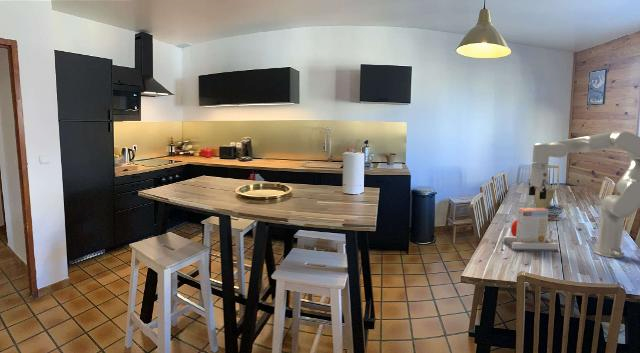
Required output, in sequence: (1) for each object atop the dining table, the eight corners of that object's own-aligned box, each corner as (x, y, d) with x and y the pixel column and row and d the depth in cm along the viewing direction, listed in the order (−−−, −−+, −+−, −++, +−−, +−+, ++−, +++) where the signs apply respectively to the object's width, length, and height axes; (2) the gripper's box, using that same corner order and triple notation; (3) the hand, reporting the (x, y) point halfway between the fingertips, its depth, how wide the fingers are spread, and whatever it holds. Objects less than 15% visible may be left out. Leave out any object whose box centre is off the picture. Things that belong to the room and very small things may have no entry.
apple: (531, 243, 205) (533, 222, 203) (513, 241, 207) (515, 221, 205) (525, 237, 214) (527, 218, 212) (507, 236, 216) (509, 217, 214)
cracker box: (538, 243, 202) (542, 207, 198) (545, 247, 196) (549, 210, 192) (514, 243, 201) (517, 207, 198) (520, 247, 195) (524, 210, 192)
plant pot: (532, 208, 283) (534, 189, 281) (529, 204, 297) (531, 185, 294) (554, 210, 277) (556, 190, 275) (550, 206, 291) (552, 187, 288)
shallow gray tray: (558, 251, 192) (558, 244, 192) (513, 250, 193) (513, 243, 192) (544, 243, 204) (545, 236, 204) (502, 242, 205) (503, 236, 204)
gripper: (557, 168, 184) (554, 200, 186) (537, 164, 201) (534, 193, 203) (542, 168, 184) (539, 200, 186) (524, 164, 201) (521, 193, 203)
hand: (537, 197), depth 195 cm, fingers open, 9 cm apart
